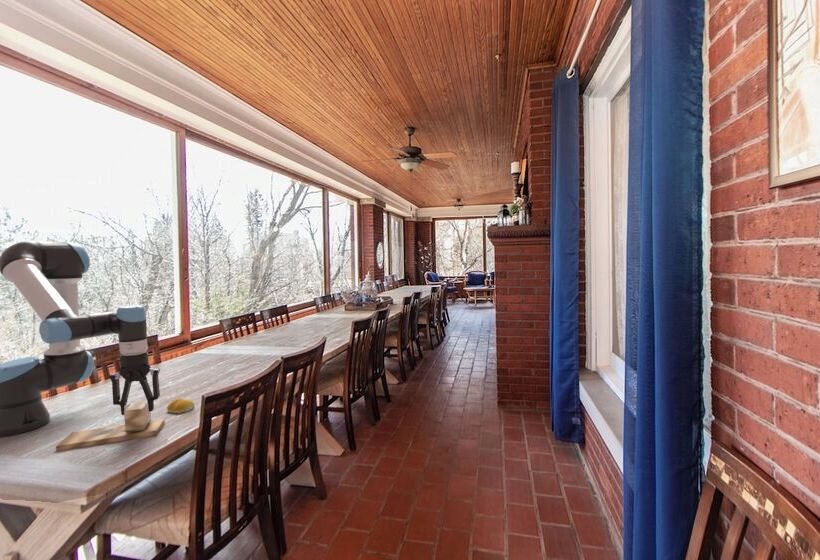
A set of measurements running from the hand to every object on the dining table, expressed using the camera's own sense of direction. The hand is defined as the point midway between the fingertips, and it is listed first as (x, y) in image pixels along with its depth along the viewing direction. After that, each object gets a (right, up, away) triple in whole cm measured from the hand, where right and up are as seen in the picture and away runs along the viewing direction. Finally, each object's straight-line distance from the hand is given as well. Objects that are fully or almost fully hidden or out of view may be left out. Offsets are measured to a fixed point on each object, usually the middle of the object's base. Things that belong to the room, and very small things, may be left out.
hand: (138, 422), depth 126 cm
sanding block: (0, -1, 0) cm, 1 cm away
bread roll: (+2, -3, +20) cm, 20 cm away
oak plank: (-6, -4, -2) cm, 8 cm away
